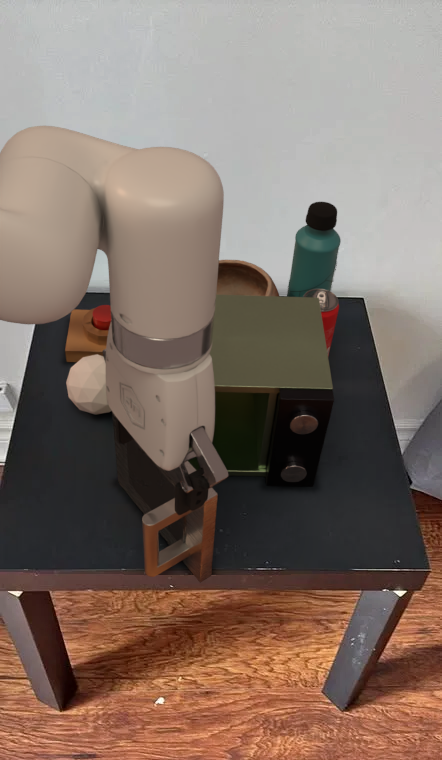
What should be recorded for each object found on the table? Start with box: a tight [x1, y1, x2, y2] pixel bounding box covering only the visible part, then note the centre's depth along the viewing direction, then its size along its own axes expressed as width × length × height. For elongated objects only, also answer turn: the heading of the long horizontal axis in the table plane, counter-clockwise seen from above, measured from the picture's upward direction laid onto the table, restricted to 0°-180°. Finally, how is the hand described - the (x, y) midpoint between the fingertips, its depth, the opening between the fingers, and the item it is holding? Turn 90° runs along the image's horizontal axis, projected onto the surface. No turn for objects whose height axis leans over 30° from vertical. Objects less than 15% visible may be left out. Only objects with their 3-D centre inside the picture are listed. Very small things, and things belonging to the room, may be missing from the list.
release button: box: [92, 304, 111, 330], centre depth 106 cm, size 4×4×2 cm
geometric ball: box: [65, 354, 112, 415], centre depth 99 cm, size 8×8×8 cm
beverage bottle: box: [286, 201, 342, 297], centre depth 107 cm, size 6×7×20 cm
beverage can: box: [303, 289, 340, 357], centre depth 104 cm, size 5×5×12 cm
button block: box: [64, 307, 109, 363], centre depth 108 cm, size 9×11×4 cm
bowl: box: [216, 259, 280, 296], centre depth 108 cm, size 16×16×10 cm
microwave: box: [188, 295, 335, 487], centre depth 93 cm, size 18×24×16 cm
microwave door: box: [111, 411, 219, 583], centre depth 83 cm, size 7×18×16 cm, turn 37°
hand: (160, 470), depth 69 cm, fingers open, 9 cm apart
